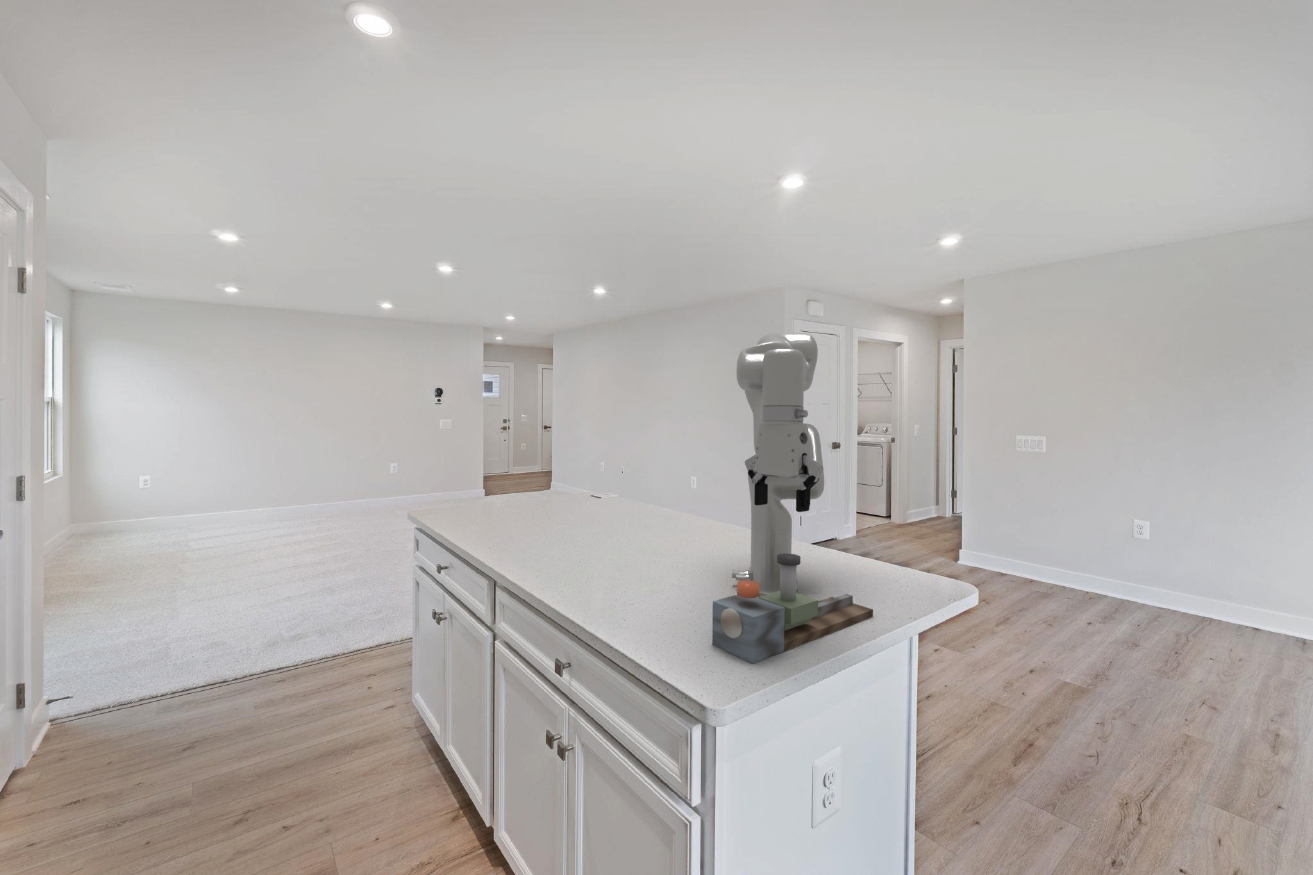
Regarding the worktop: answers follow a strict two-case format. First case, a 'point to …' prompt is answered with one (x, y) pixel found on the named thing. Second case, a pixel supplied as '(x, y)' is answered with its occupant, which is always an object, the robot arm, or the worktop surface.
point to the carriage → (792, 594)
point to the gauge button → (748, 589)
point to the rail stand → (776, 625)
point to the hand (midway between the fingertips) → (781, 507)
